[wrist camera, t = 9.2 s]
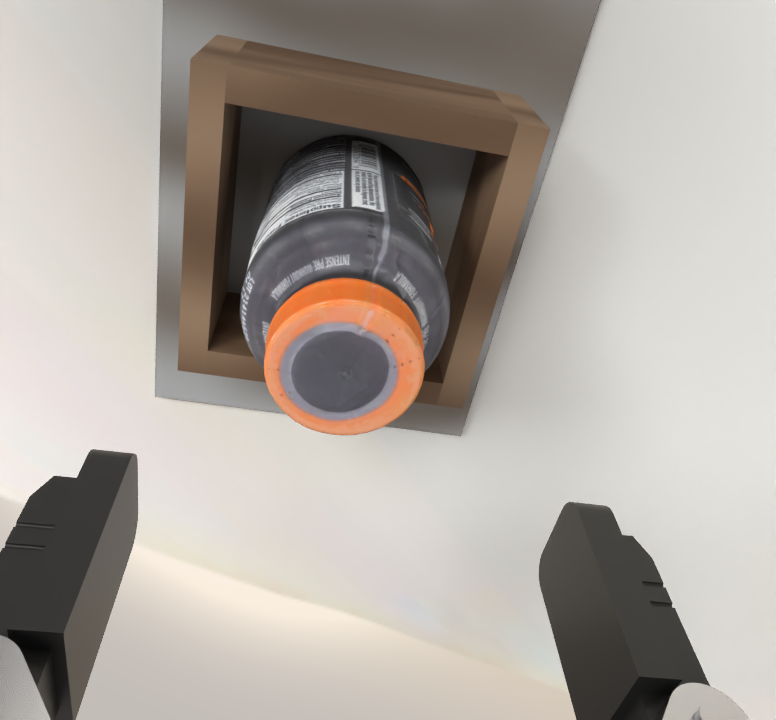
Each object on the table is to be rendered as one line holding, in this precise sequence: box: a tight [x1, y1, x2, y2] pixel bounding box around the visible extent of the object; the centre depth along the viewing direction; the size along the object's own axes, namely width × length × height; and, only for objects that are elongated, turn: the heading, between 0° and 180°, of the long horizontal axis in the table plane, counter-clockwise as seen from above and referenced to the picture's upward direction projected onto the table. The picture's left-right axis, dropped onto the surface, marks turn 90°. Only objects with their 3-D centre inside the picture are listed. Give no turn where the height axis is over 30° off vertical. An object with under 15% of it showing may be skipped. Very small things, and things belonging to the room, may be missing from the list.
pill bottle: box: [240, 135, 450, 435], centre depth 22 cm, size 6×6×11 cm
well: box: [155, 0, 601, 436], centre depth 25 cm, size 20×14×5 cm
